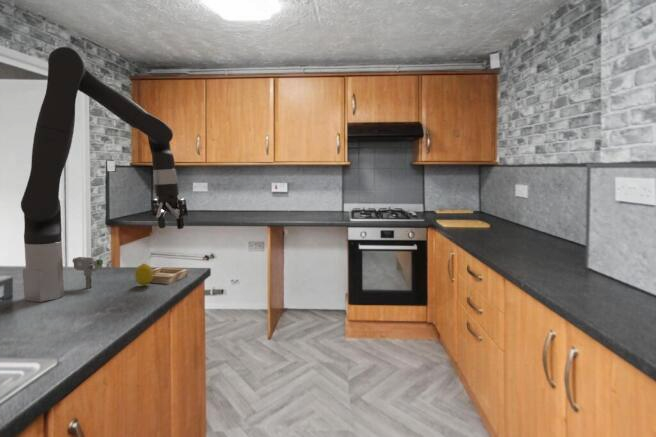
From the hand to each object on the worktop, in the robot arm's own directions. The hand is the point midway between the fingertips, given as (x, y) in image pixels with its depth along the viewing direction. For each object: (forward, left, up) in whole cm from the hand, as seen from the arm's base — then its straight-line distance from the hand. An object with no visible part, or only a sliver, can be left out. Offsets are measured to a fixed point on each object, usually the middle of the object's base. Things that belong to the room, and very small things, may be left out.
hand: (171, 228), depth 140 cm
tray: (+3, +6, -19) cm, 21 cm away
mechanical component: (-15, +22, -20) cm, 33 cm away
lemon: (-8, +6, -20) cm, 22 cm away
